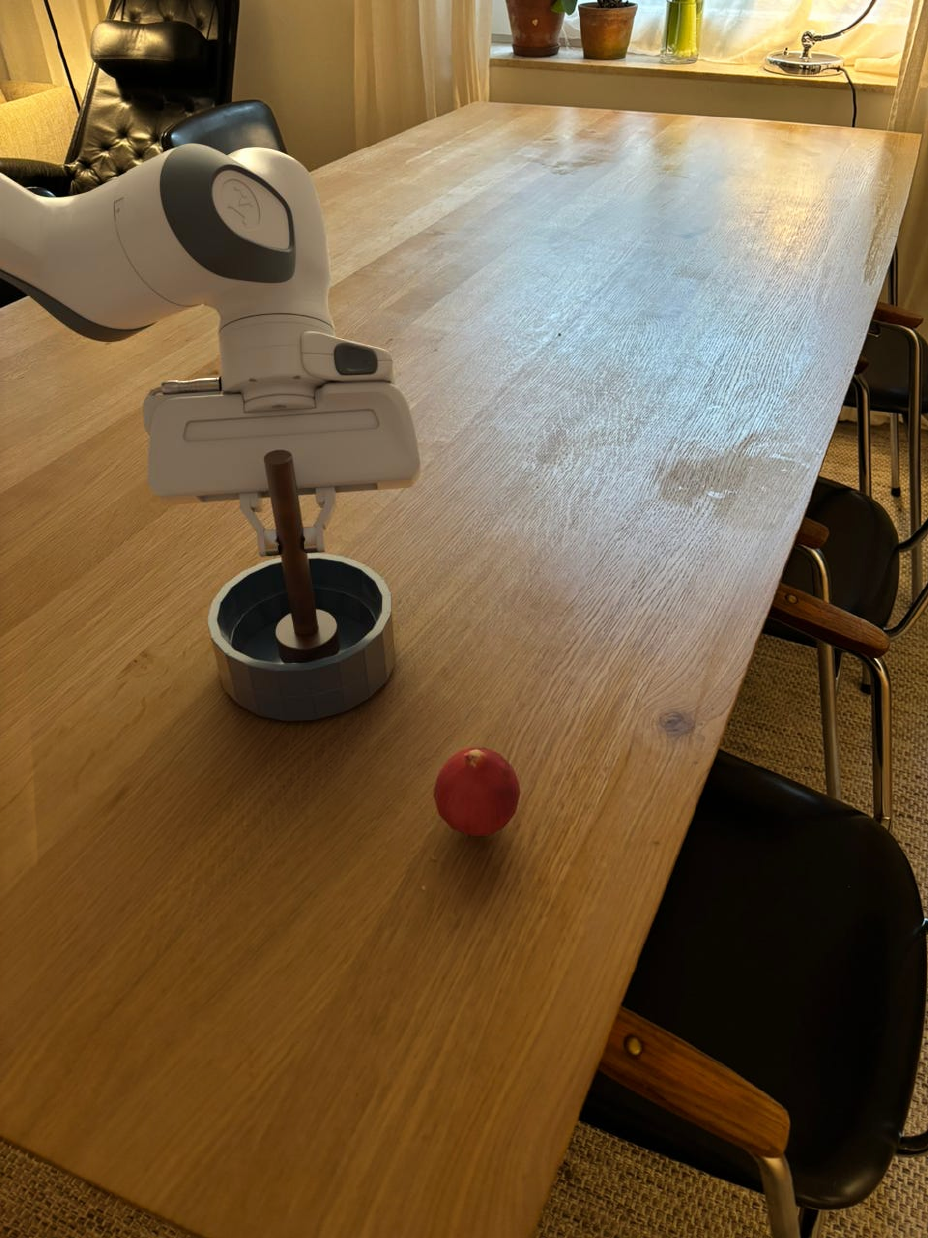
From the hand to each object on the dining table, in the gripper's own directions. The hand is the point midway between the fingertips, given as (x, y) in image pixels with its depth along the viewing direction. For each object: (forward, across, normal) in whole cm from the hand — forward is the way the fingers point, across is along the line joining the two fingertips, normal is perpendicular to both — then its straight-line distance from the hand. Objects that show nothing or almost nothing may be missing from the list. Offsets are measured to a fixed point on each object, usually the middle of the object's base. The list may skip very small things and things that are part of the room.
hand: (293, 553), depth 74 cm
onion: (+21, +12, -3) cm, 24 cm away
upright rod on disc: (+7, 0, +8) cm, 10 cm away
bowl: (+8, 0, +10) cm, 12 cm away
